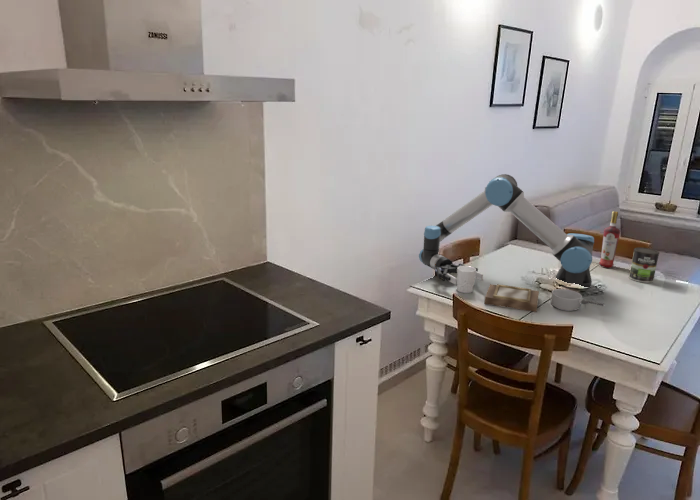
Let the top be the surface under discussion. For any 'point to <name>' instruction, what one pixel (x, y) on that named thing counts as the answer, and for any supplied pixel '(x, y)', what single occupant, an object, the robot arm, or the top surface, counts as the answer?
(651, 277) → the coffee can
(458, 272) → the white cup
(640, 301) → the top surface
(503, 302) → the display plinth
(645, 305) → the top surface
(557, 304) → the saucepan
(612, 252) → the liquor
